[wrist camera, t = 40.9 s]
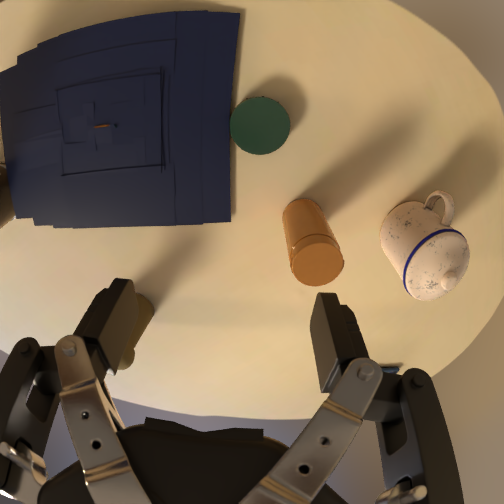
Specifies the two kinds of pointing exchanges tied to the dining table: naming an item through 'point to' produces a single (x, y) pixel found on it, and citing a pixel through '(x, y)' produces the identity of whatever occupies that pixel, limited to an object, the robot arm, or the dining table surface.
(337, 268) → the jar
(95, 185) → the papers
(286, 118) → the lid
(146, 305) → the brown rounded tall piece
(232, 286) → the dining table surface
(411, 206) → the teacup with lid
